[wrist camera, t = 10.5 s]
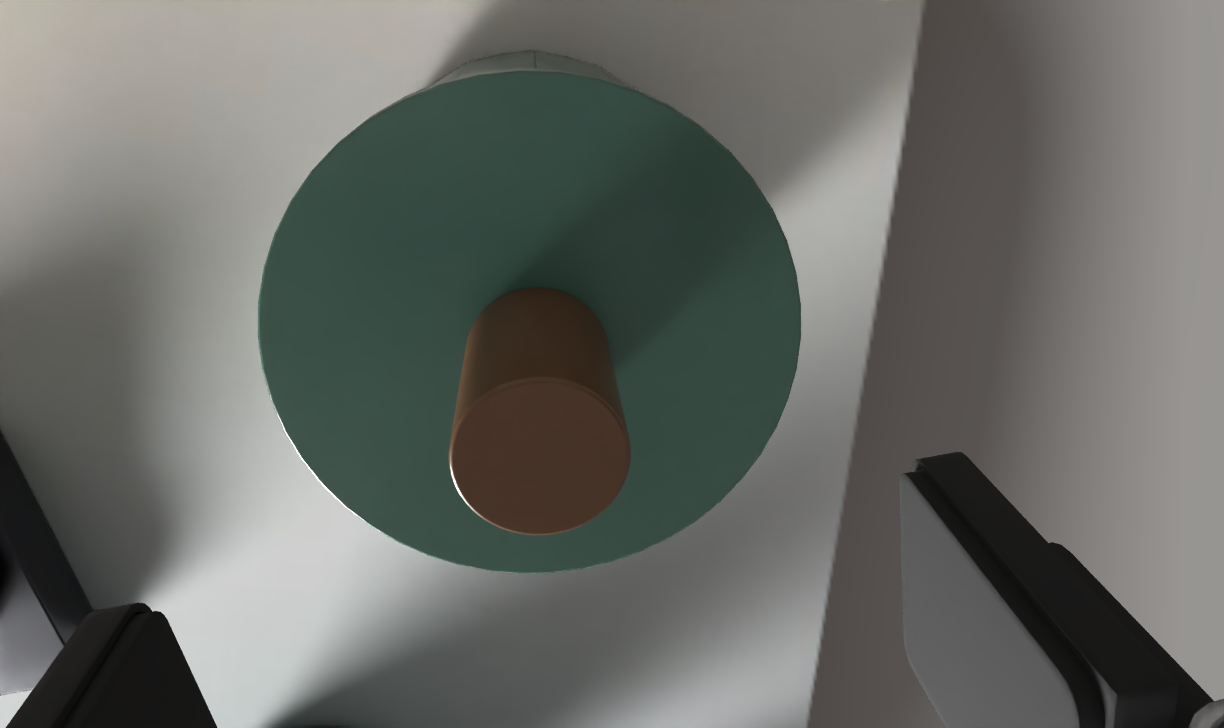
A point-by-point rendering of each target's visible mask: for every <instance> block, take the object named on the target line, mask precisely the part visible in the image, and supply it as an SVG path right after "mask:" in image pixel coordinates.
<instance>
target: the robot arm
mask: <svg viewBox="0 0 1224 728" xmlns="http://www.w3.org/2000/svg"><path fill="white" fill-rule="evenodd" d="M899 502H900V539H901V575H902V610H903V638H904V646H905V651H906V655H907V658H908V661H909V663H910V666H911V668H912V670H913V672H914V673H915V675H916V677H917V679H918V681H919V682H920V684H921V686H922V688H923V689H924V691H925V693H926V695H927V697H928V698H929V700H930V702H931V704H932V705H933V707H934V708H935V711H936V713H937V714H938V716H939V718H940V720H941V721H942V723H943V725H944V726H945V728H1224V699H1221V700H1218V701H1213V700H1212V699H1211V698H1210V696H1209V695H1208V694H1207V693H1206V692H1205V691H1204V690H1203V689H1202V688H1201V687H1200V686H1199V685H1198V684H1197V683H1196V682H1195V681H1194V680H1193V679H1192V678H1191V677H1190V676H1189V675H1188V674H1187V673H1186V672H1185V671H1184V669H1182V667H1181V666H1180V665H1179V664H1178V663H1177V662H1176V661H1175V660H1174V659H1173V658H1172V657H1171V656H1170V655H1169V654H1168V653H1167V652H1166V651H1165V650H1164V649H1163V648H1162V647H1161V646H1160V645H1159V644H1158V643H1157V641H1156V640H1155V639H1154V638H1153V637H1152V636H1151V635H1150V634H1149V633H1148V632H1147V631H1146V630H1145V629H1144V628H1143V627H1142V626H1141V625H1140V624H1139V623H1138V622H1137V621H1136V620H1135V619H1134V618H1133V617H1132V616H1131V615H1130V614H1129V613H1128V611H1127V610H1126V609H1125V608H1124V607H1123V606H1122V605H1121V604H1120V603H1119V602H1118V601H1117V600H1116V599H1115V598H1114V597H1113V596H1112V595H1111V594H1110V593H1109V592H1108V591H1107V590H1106V589H1105V587H1104V586H1103V585H1101V583H1100V582H1099V581H1098V580H1097V579H1096V578H1095V577H1094V576H1093V575H1092V574H1091V573H1090V572H1089V571H1088V570H1087V569H1086V568H1085V567H1084V566H1083V565H1082V564H1081V563H1080V562H1079V561H1078V560H1077V558H1076V557H1075V556H1074V555H1073V554H1072V553H1071V552H1070V551H1068V550H1067V549H1066V548H1065V547H1063V546H1062V545H1060V544H1057V543H1053V542H1052V543H1048V542H1047V541H1046V540H1045V539H1044V538H1043V537H1042V536H1041V535H1040V534H1039V533H1038V532H1037V531H1036V530H1035V529H1034V527H1033V526H1032V525H1031V524H1030V523H1029V522H1028V521H1027V520H1026V519H1025V518H1024V517H1023V516H1022V515H1021V514H1020V513H1019V512H1018V511H1017V510H1016V508H1015V507H1014V506H1013V505H1012V504H1011V503H1010V502H1009V501H1008V500H1007V499H1006V498H1005V497H1004V496H1003V495H1002V493H1001V492H1000V491H999V490H998V489H997V488H996V487H995V486H994V485H993V484H992V483H991V482H990V481H989V480H988V479H987V478H986V477H985V475H983V473H982V472H981V471H980V470H979V469H978V468H977V467H976V466H975V465H974V464H973V463H972V461H971V460H970V459H969V458H968V457H967V456H966V455H964V454H963V453H961V452H954V453H949V454H943V455H938V456H933V457H927V458H922V459H917V460H915V461H914V462H913V465H912V468H911V472H910V473H904V474H902V475H901V476H900V480H899ZM6 728H217V726H216V724H215V722H214V719H213V717H212V715H211V713H210V711H209V709H208V706H207V704H206V702H205V700H204V698H203V696H202V694H201V691H200V689H199V687H198V685H197V683H196V681H195V678H194V676H193V674H192V672H191V670H190V668H189V666H188V663H187V661H186V659H185V657H184V655H183V653H182V650H181V648H180V646H179V644H178V642H177V640H176V637H175V635H174V633H173V631H172V629H171V627H170V625H169V622H168V620H167V619H166V617H165V615H164V614H162V613H161V612H158V611H154V612H152V610H151V609H150V608H149V607H148V606H147V605H146V604H144V603H139V602H138V603H133V604H127V605H122V606H116V607H111V608H106V609H100V610H95V611H93V612H90V613H89V614H88V615H87V616H86V617H85V618H84V619H83V620H82V622H81V623H80V625H79V626H78V627H77V629H76V630H75V632H74V633H73V634H72V636H71V637H70V639H69V640H68V641H67V643H66V644H65V646H64V647H63V648H62V650H61V651H60V653H59V654H58V655H57V657H56V658H55V660H54V661H53V662H52V664H51V665H50V667H49V668H48V669H47V671H46V672H45V674H44V675H43V676H42V678H41V679H40V681H39V682H38V683H37V685H36V686H35V688H34V689H33V690H32V692H31V693H30V695H29V696H28V697H27V699H26V700H25V702H24V703H23V704H22V706H21V707H20V709H19V710H18V711H17V713H16V714H15V716H14V717H13V718H12V720H11V721H10V723H9V724H8V725H7V727H6Z"/></svg>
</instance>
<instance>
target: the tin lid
mask: <svg viewBox="0 0 1224 728" xmlns="http://www.w3.org/2000/svg"><path fill="white" fill-rule="evenodd" d="M258 340H259V348H260V355H261V363H262V370H263V373H264V377H265V380H266V384H267V387H268V391H269V394H270V398H271V401H272V404H273V406H274V408H275V410H276V413H277V415H278V417H279V420H280V422H281V424H282V426H283V429H284V431H285V433H286V434H287V436H288V438H289V439H290V441H291V443H292V444H293V446H294V447H295V449H296V451H297V452H298V454H299V456H300V457H301V459H302V460H303V462H304V463H305V464H306V465H307V467H308V468H309V469H310V470H311V472H312V473H313V474H314V475H315V476H316V478H317V479H318V480H319V481H320V483H321V484H322V485H323V486H324V487H325V488H326V489H327V490H328V491H329V492H330V493H331V494H332V495H333V496H334V497H335V498H336V499H337V500H339V501H340V502H341V503H342V504H343V505H344V506H345V507H346V508H347V509H349V510H350V511H351V512H353V513H354V514H355V515H357V516H358V517H359V518H361V519H362V520H363V521H365V522H366V523H367V524H369V525H370V526H371V527H373V528H375V529H376V530H378V531H380V532H381V533H383V534H385V535H387V536H388V537H390V538H392V539H394V540H395V541H397V542H399V543H401V544H403V545H405V546H408V547H410V548H412V549H415V550H417V551H419V552H421V553H424V554H426V555H428V556H432V557H435V558H438V559H441V560H445V561H448V562H451V563H454V564H457V565H462V566H467V567H472V568H478V569H483V570H488V571H498V572H510V573H553V572H561V571H569V570H576V569H583V568H588V567H592V566H596V565H600V564H604V563H608V562H612V561H615V560H618V559H621V558H624V557H627V556H629V555H632V554H635V553H638V552H640V551H643V550H645V549H647V548H649V547H651V546H653V545H655V544H657V543H659V542H661V541H663V540H666V539H668V538H670V537H671V536H673V535H674V534H676V533H678V532H679V531H681V530H682V529H684V528H685V527H687V526H689V525H690V524H692V523H693V522H695V521H696V520H698V519H699V518H700V517H701V516H703V515H704V514H705V513H706V512H708V511H709V510H710V509H711V508H712V507H714V506H715V505H716V504H717V503H719V502H720V501H721V500H722V499H723V498H724V497H725V496H726V495H727V494H728V493H729V492H730V491H731V490H732V489H733V488H734V487H735V486H736V485H737V484H738V482H739V481H740V480H741V479H742V478H743V477H744V476H745V474H746V473H747V472H748V470H749V469H750V468H751V466H752V465H753V464H754V462H755V461H756V460H757V459H758V457H759V456H760V455H761V453H762V451H763V449H764V448H765V446H766V444H767V443H768V441H769V439H770V437H771V436H772V434H773V432H774V431H775V429H776V427H777V424H778V422H779V420H780V417H781V415H782V413H783V410H784V408H785V406H786V403H787V401H788V398H789V394H790V391H791V387H792V383H793V380H794V376H795V373H796V369H797V362H798V355H799V347H800V340H801V303H800V296H799V289H798V282H797V275H796V270H795V267H794V263H793V260H792V256H791V253H790V250H789V246H788V243H787V240H786V237H785V235H784V233H783V231H782V229H781V226H780V224H779V222H778V220H777V218H776V215H775V213H774V211H773V209H772V207H771V206H770V204H769V203H768V201H767V199H766V198H765V196H764V195H763V193H762V192H761V190H760V188H759V187H758V185H757V184H756V182H755V181H754V179H753V178H752V177H751V176H750V174H749V173H748V172H747V171H746V170H745V169H744V167H743V166H742V165H741V164H740V163H739V162H738V160H737V159H736V158H735V157H734V156H733V155H732V153H731V152H730V151H729V150H727V149H726V148H725V147H724V146H723V145H722V144H721V143H719V142H718V141H717V140H716V139H715V138H714V137H713V136H711V135H710V134H709V133H708V132H707V131H706V130H705V129H704V128H702V127H701V126H700V125H699V124H697V123H696V122H694V121H693V120H691V119H690V118H688V117H687V116H685V115H684V114H682V113H681V112H679V111H678V110H676V109H675V108H673V107H672V106H670V105H669V104H667V103H665V102H663V101H661V100H658V99H656V98H654V97H652V96H650V95H648V94H646V93H644V92H642V91H640V90H637V89H635V88H633V87H630V86H627V85H624V84H621V83H618V82H614V81H611V80H608V79H605V78H602V77H599V76H594V75H589V74H583V73H577V72H571V71H565V70H559V69H534V68H514V69H505V70H495V71H486V72H478V73H474V74H470V75H466V76H462V77H458V78H454V79H450V80H446V81H442V82H440V83H437V84H435V85H432V86H430V87H427V88H425V89H422V90H420V91H417V92H415V93H412V94H410V95H407V96H405V97H403V98H402V99H400V100H398V101H396V102H395V103H393V104H391V105H390V106H388V107H386V108H384V109H383V110H381V111H379V112H377V113H376V114H374V115H372V116H371V117H370V118H369V119H367V120H366V121H365V122H363V123H362V124H361V125H360V126H358V127H357V128H356V129H355V130H353V131H352V132H351V133H350V134H348V135H347V136H346V137H344V138H343V139H342V140H341V141H340V142H338V143H337V144H336V146H335V147H334V148H333V149H332V150H331V151H330V152H329V153H328V154H327V155H326V156H325V157H324V158H323V159H322V160H321V161H320V162H319V164H318V165H317V166H316V167H315V168H314V169H313V170H312V171H311V173H310V174H309V175H308V177H307V178H306V180H305V181H304V183H303V184H302V186H301V187H300V188H299V190H298V191H297V193H296V194H295V196H294V197H293V198H292V200H291V201H290V203H289V206H288V208H287V210H286V212H285V214H284V216H283V218H282V220H281V222H280V224H279V226H278V228H277V230H276V232H275V234H274V237H273V240H272V243H271V246H270V250H269V253H268V256H267V259H266V262H265V265H264V269H263V276H262V282H261V288H260V294H259V300H258Z"/></svg>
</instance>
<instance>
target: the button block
mask: <svg viewBox="0 0 1224 728" xmlns="http://www.w3.org/2000/svg"><path fill="white" fill-rule="evenodd" d="M90 612H93V609H92V607H91V605H90V603H89V601H88V600H87V598H86V596H85V594H84V592H83V590H82V588H81V586H80V584H79V582H78V580H77V578H76V576H75V574H74V572H73V570H72V568H71V567H70V565H69V563H68V561H67V559H66V557H65V555H64V553H63V551H62V549H61V547H60V545H59V543H58V541H57V539H56V537H55V535H54V534H53V532H52V530H51V528H50V526H49V524H48V522H47V520H46V518H45V516H44V514H43V512H42V510H41V508H40V506H39V504H38V502H37V500H36V499H35V497H34V495H33V493H32V491H31V489H30V487H29V485H28V483H27V481H26V479H25V477H24V475H23V473H22V471H21V469H20V467H19V466H18V464H17V462H16V460H15V458H14V456H13V454H12V452H11V450H10V448H9V446H8V444H7V442H6V440H5V438H4V436H3V434H2V433H1V431H0V695H5V694H11V693H16V692H21V691H27V690H32V689H34V688H35V686H36V685H37V683H38V682H39V681H40V679H41V678H42V676H43V675H44V674H45V672H46V671H47V669H48V668H49V667H50V665H51V664H52V662H53V661H54V660H55V658H56V657H57V655H58V654H59V653H60V651H61V650H62V648H63V647H64V646H65V644H66V643H67V641H68V640H69V639H70V637H71V636H72V634H73V633H74V632H75V630H76V629H77V627H78V626H79V625H80V623H81V622H82V620H83V619H84V618H85V617H86V616H87V615H88V614H89V613H90Z"/></svg>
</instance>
